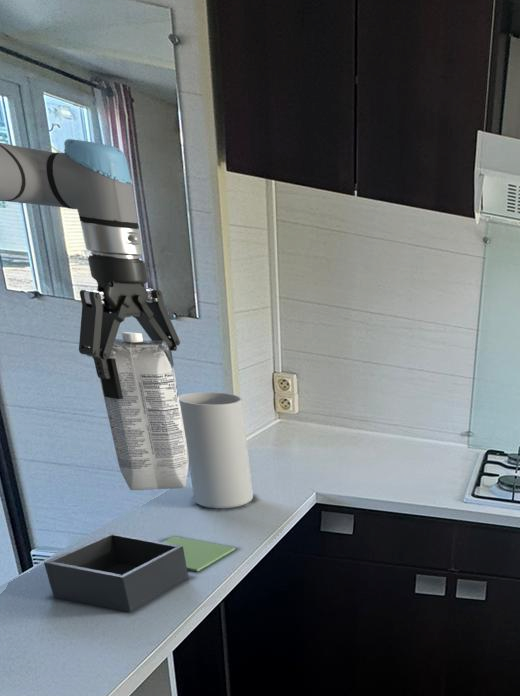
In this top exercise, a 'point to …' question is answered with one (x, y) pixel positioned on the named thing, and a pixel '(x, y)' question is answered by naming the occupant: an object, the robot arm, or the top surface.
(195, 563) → the placemat
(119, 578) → the box
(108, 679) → the top surface
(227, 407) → the cylinder vase
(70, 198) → the robot arm
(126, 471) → the juice carton
